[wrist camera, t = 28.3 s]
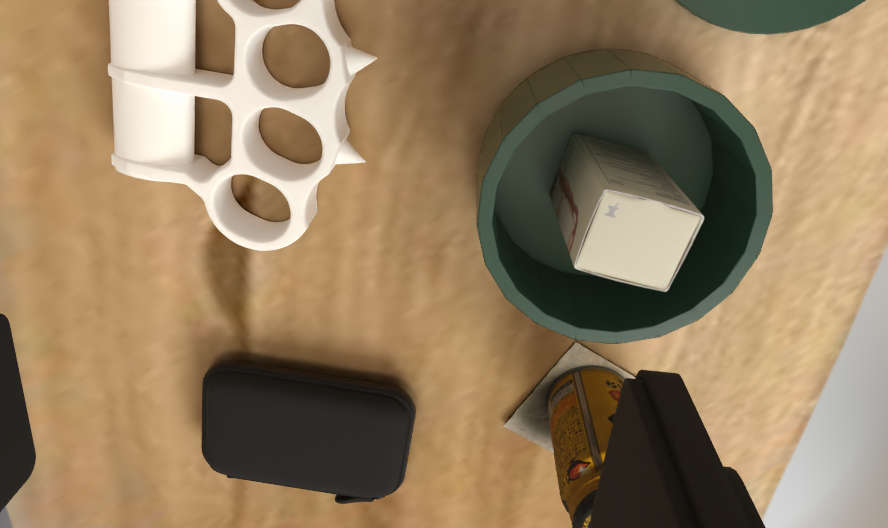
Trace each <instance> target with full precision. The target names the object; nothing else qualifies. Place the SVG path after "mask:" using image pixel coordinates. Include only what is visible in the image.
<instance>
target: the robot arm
mask: <svg viewBox="0 0 888 528" xmlns="http://www.w3.org/2000/svg"><path fill="white" fill-rule="evenodd" d="M35 460H36V453H35V448H34V443H33V438H32V433H31V428H30V423H29V418H28V413H27V408H26V403H25V398H24V393H23V388H22V383H21V378H20V373H19V368H18V363H17V358H16V353H15V348H14V343H13V338H12V333H11V328H10V324H9V321H8V319H7V317H6V316H5V315H3V314H0V512H1V511H2V509H3V508H4V507H5V506H6V505H7V504H8V502H9V501H10V500H11V499H12V498H13V496H14V495H15V494H16V493H17V492H18V490H19V489H20V488H21V487H22V486H23V484H24V483H25V482H26V481H27V480H28V478H29V477H30V475H31V473H32V471H33V469H34V465H35ZM590 528H765V526H764V524H763V522H762V520H761V518H760V516H759V514H758V512H757V510H756V507H755V505H754V503H753V501H752V499H751V497H750V495H749V493H748V491H747V489H746V487H745V485H744V483H743V481H742V479H741V477H740V476H739V474H738V473H737V471H735V470H734V469H732V468H731V467H723V465H722V463H721V461H720V459H719V457H718V455H717V452H716V450H715V448H714V446H713V444H712V442H711V440H710V437H709V435H708V433H707V431H706V429H705V427H704V425H703V422H702V420H701V418H700V416H699V414H698V412H697V410H696V407H695V405H694V403H693V401H692V399H691V397H690V395H689V392H688V390H687V388H686V386H685V384H684V382H683V380H682V378H681V376H680V375H679V374H676V373H667V372H658V371H648V370H640V371H639V372H638V373H637V375H636V378H635V379H632V378H626V379H625V380H624V382H623V384H622V388H621V392H620V396H619V400H618V404H617V408H616V412H615V417H614V421H613V425H612V429H611V433H610V437H609V441H608V446H607V450H606V454H605V458H604V462H603V466H602V470H601V475H600V479H599V483H598V487H597V491H596V495H595V499H594V504H593V508H592V513H591V525H590Z"/></svg>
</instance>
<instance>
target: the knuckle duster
mask: <svg viewBox="0 0 888 528" xmlns="http://www.w3.org/2000/svg"><path fill="white" fill-rule="evenodd" d="M217 1H218V3H219V4H220V5H221V7H222V8H223V9H224V10H225V11H226V12H227V13H228V14H229V15H230V16H231V17H232V18H233V20H234V22H235V54H234V75H229V74H223V73H218V72H212V71H206V70H200V69H195V35H196V0H109V19H110V45H111V63H109V64H108V75H109V76H111V77H112V97H113V123H114V148H115V153H113V154H112V155H111V156H112V165H114V166H115V169H116V170H117V171H119V172H121V173H123V174H125V175H128V176H132V177H136V178H140V179H145V180H153V181H165V182H175V183H181V184H185V185H187V186H188V187H190V188H191V189H192V190H193V191H194V192H195V193H197V194H198V195H199V196H200V197H201V198H202V199H203V200H204V202H205V206H206V209H207V212H208V214H209V216H210V218H211V220H212V222H213V223H214V224H215V226H216V227H217V228H218V229H219V231H220V232H221V233H222V234H224V235H225V236H226V237H227V238H229V239H230V240H231V241H233V242H235V243H237V244H239V245H241V246H243V247H246V248H249V249H254V250H261V251H268V250H276V249H280V248H283V247H286V246H288V245H290V244H291V243H293V242H295V241H296V240H297V239H298V238H299V237H301V236H302V234H303V233H304V232H305V231H306V229H307V228H308V226H309V224H310V223H311V221H312V219H313V218H314V216H315V214H316V213H317V211H318V207H317V201H316V193H317V187H318V183H319V181H320V180H321V179H323V178H324V177H325V176H327V175H329V174H330V172H331V171H332V169H333V167H334V166H335V164H349V163H365V161H364V159H363V158H362V157H361V156H360V155H359V154H358V152H357V151H356V150H355V149H354V148H353V147H352V145H351V144H350V143H349V142H348V141H347V137H348V135H349V132H350V129H349V126H348V124H347V120H346V116H345V98H346V93H347V90H348V88H349V85H350V84H351V82H352V80H353V79H354V77H355V76H356V72H358V71H359V70H361V69H362V68H364V67H366V66H367V65H369V64H370V63H372V62H373V61H375V60H376V59H378V58H377V57H375V56H372V55H370V54H368V53H365V52H363V51H360V50H358V49H356V48H353V47H352V44H351V39H350V37H349V36H348V35H347V34H346V32H345V31H344V29H343V28H342V26H341V24H340V22H339V19H338V16H337V13H336V9H335V2H334V0H300V1H299V2H298V3H297V4H296V5H295V6H293V7H292V8H285V9H277V10H275V9H268V8H265V7H262V6H260V5H258V4H257V3H256V2H254V1H253V0H217ZM287 24H297V25H302V26H305V27H307V28H309V29H311V30H312V31H314V32H315V33H316V34H317V35H318V36H319V37H320V38H321V39H322V40H323V42H324V43H325V45H326V47H327V49H328V52H329V56H330V71H329V75H328V78H327V80H326V81H325V83H324V84H322V85H319V86H314V87H306V88H291V87H287V86H285V85H283V84H281V83H279V82H278V81H277V80H275V79H274V78H273V77H272V76H271V74H270V73H269V72H268V70H267V68H266V66H265V64H264V60H263V55H262V47H263V42H264V39H265V37H266V35H267V33H268V32H269V31H270V30H271V29H272V28H273V27H274V26H280V25H287ZM195 96H199V97H204V98H210V99H216V100H220V101H222V102H224V103H225V104H226V105H227V106H228V107H229V108H230V110H231V112H232V143H231V159H230V160H228V161H227V162H226V163H225V164H224V165H222V166H218V165H215V164H213V163H212V162H211V161H209V160H208V159H207V158H206V157H205V156H201V155H195V154H194V133H195ZM269 107H277V108H282V109H285V110H288V111H290V112H292V113H294V114H296V115H298V116H300V117H302V118H304V119H305V120H307V121H308V122H309V123H311V124H312V125H313V126H314V128H315V129H316V130H317V132H318V134H319V136H320V138H321V142H322V148H323V151H322V157H321V159H320V160H319V161H317V162H314V163H311V164H298V163H295V162H292V161H290V160H288V159H286V158H283V157H281V156H279V155H277V154H276V153H274V152H273V151H271V150H270V149H269V148H268V147H267V146H266V144H265V143H264V141H263V140H262V137H261V135H260V132H259V117H260V114H261V112H262V110H263V109H264V108H269ZM237 174H247V175H251V176H254V177H257V178H259V179H261V180H263V181H265V182H268V183H270V184H272V185H273V186H275V187H276V188H278V189H279V190H280V191H281V192H282V193H283V195H284V196H285V197H286V199H287V201H288V203H289V206H290V212H291V216H290V219H288V220H286V221H282V222H270V221H266V220H264V219H261V218H259V217H257V216H255V215H253V214H250V213H249V212H247V211H245V210H244V209H243V208H242V207H241V206H240V205H239V204H238V203H237V201H236V200H235V198H234V196H233V193H232V189H231V180H232V176H233V175H237Z"/></svg>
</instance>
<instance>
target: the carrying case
mask: <svg viewBox="0 0 888 528" xmlns="http://www.w3.org/2000/svg"><path fill="white" fill-rule="evenodd" d="M415 415H416V409H415V405H414V402H413V400H412V399H411V397H410V396H409V395H408V394H407V393H406V392H405V391H404V390H402V389H400V388H399V387H396V386H392V385H388V384H383V383H378V382H372V381H365V380H359V379H352V378H346V377H339V376H333V375H327V374H320V373H314V372H307V371H301V370H295V369H289V368H283V367H277V366H270V365H264V364H258V363H252V362H244V361H236V360H226V361H222V362H219V363H217V364H215V365H213V366H212V367H211V368H210V369H209V370H208V371H207V373H206V374H205V376H204V378H203V391H202V453H203V456H204V458H205V460H206V461H207V462H208V464H209V465H210V467H211V468H212V469H213V470H215V471H216V472H218V473H221V474H224V475H227V477H228V478H237V479H243V480H250V481H256V482H262V483H269V484H275V485H281V486H287V487H294V488H300V489H306V490H313V491H319V492H325V493H331V494H337V495H336V497H335V501H336V502H337V503H341V504H346V503H354V502H372V501H373V500H374V499H380V498H383V497H385V496H386V495H389V494H391V493H393V492H395V491H396V490H397V489H398V488H399V487H400V486H401V484H402V483H403V481H404V478H405V472H406V466H407V461H408V455H409V449H410V443H411V438H412V432H413V426H414V421H415Z"/></svg>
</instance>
